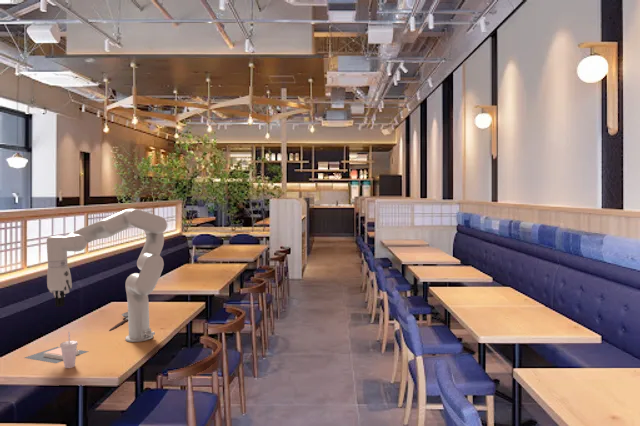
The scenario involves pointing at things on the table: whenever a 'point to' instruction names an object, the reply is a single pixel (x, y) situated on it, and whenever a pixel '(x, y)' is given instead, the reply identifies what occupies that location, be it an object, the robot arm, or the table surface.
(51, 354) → the tile
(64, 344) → the smoothie
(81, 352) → the mat
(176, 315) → the table surface
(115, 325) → the spoon
